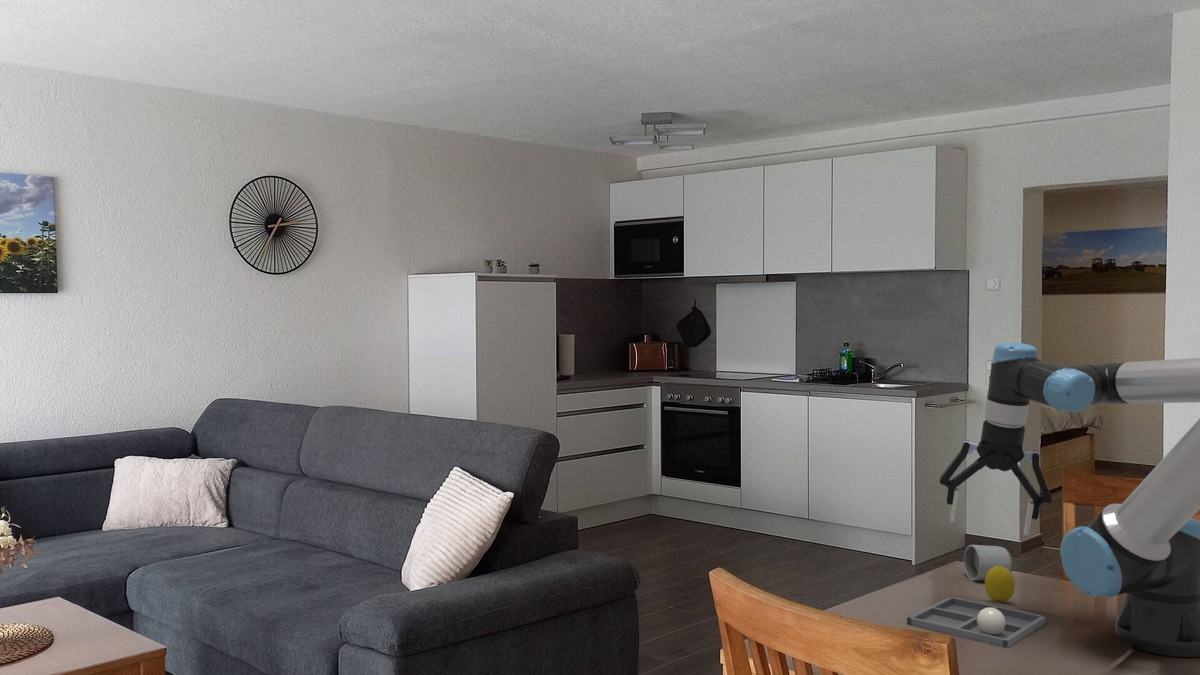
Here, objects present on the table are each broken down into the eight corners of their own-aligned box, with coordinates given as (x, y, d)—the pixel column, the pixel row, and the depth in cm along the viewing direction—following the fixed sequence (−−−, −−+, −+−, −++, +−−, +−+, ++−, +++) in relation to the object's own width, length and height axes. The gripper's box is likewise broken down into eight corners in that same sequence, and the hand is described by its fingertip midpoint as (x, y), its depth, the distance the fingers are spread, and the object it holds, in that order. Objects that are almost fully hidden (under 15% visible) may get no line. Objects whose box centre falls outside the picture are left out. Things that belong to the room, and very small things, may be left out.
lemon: (1017, 609, 190) (1017, 568, 190) (987, 607, 191) (987, 567, 191) (1011, 601, 196) (1011, 561, 195) (982, 599, 197) (982, 560, 197)
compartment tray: (1046, 628, 179) (1046, 616, 179) (1007, 653, 165) (1007, 640, 165) (950, 607, 191) (950, 596, 191) (907, 629, 178) (907, 617, 178)
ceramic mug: (1015, 583, 208) (1015, 548, 208) (979, 584, 207) (979, 549, 207) (990, 571, 219) (990, 537, 219) (955, 572, 218) (955, 538, 218)
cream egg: (1009, 634, 172) (1010, 607, 172) (999, 641, 169) (999, 613, 169) (983, 628, 176) (983, 602, 176) (972, 634, 172) (972, 608, 172)
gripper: (1073, 428, 184) (1056, 532, 188) (936, 408, 193) (923, 508, 197) (1077, 437, 178) (1059, 546, 181) (935, 416, 186) (921, 520, 190)
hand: (988, 527), depth 189 cm, fingers open, 13 cm apart
